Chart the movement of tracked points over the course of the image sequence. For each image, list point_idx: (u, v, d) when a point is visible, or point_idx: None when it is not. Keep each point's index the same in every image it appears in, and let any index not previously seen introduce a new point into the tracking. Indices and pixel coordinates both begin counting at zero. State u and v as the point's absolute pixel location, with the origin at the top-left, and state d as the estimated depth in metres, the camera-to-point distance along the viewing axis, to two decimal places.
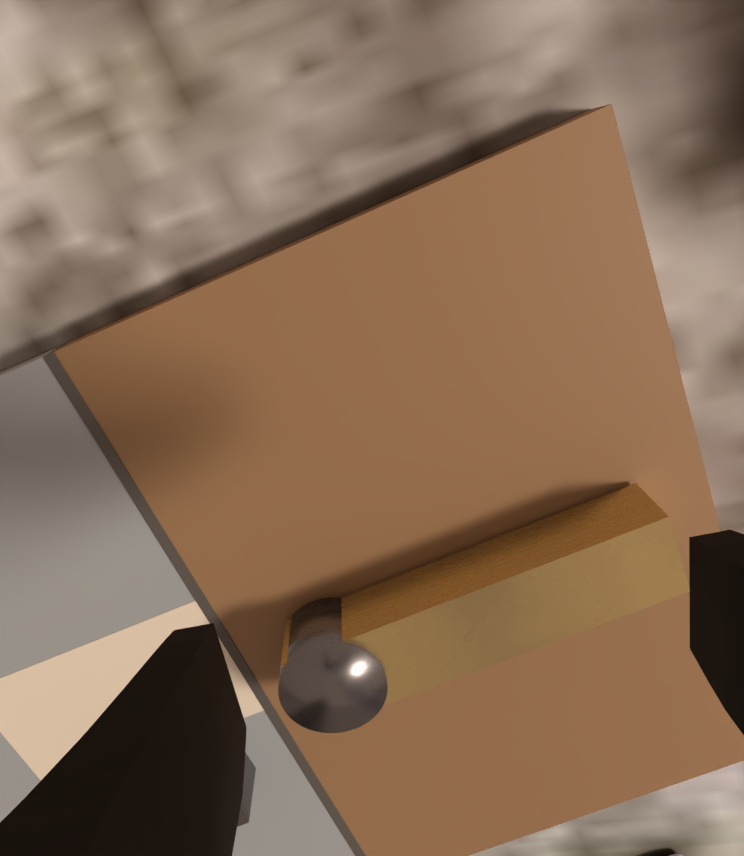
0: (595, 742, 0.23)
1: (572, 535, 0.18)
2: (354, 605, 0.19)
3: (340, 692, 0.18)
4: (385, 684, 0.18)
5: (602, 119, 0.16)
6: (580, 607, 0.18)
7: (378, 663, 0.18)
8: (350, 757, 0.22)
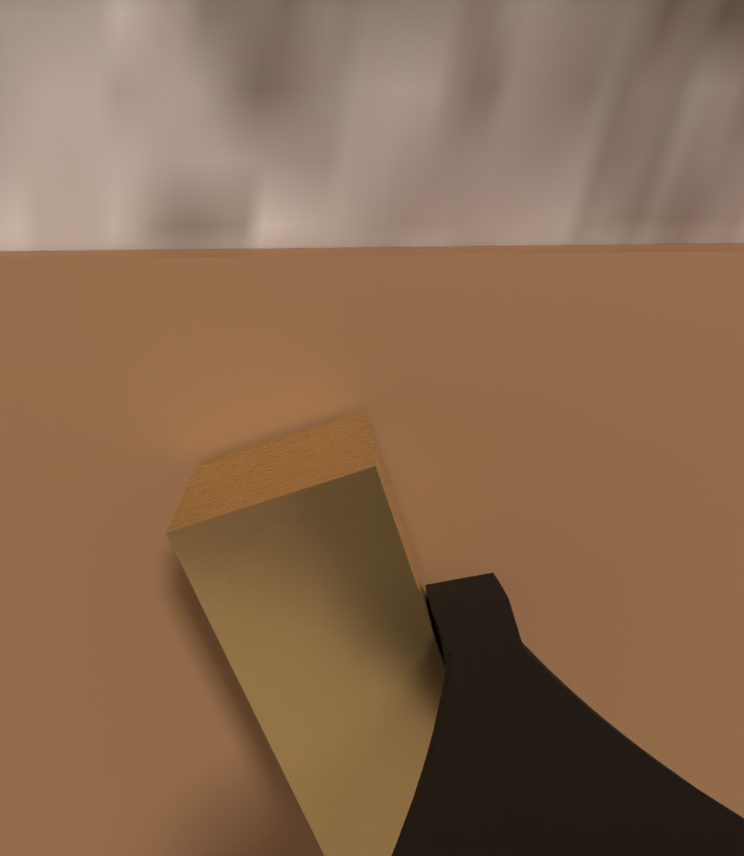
0: None
1: None
2: None
3: None
4: None
5: None
6: (385, 682, 0.08)
7: None
8: None
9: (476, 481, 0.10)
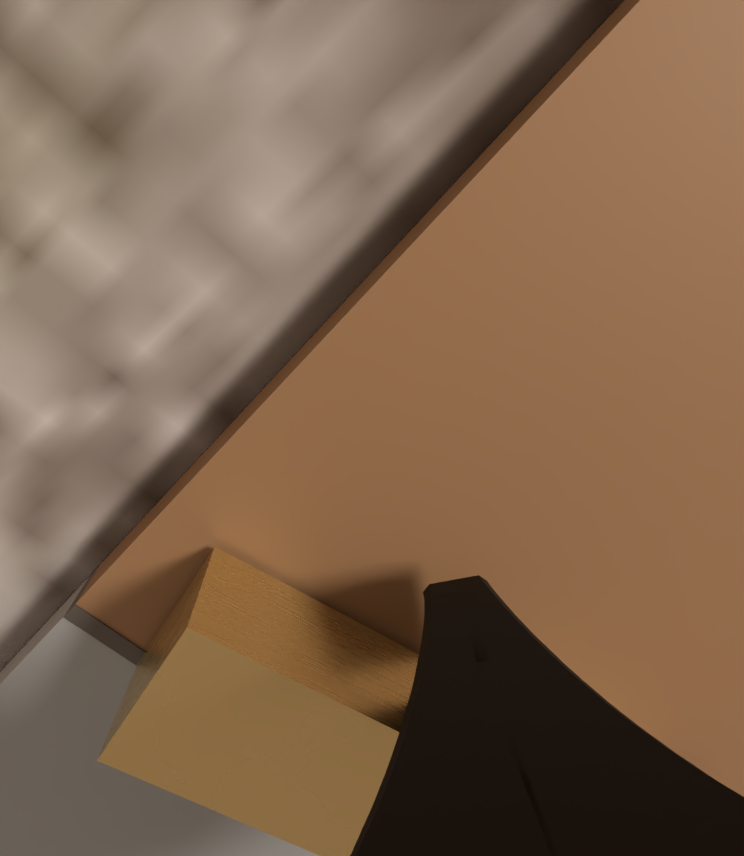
0: None
1: None
2: None
3: None
4: None
5: None
6: (348, 761, 0.09)
7: None
8: None
9: None
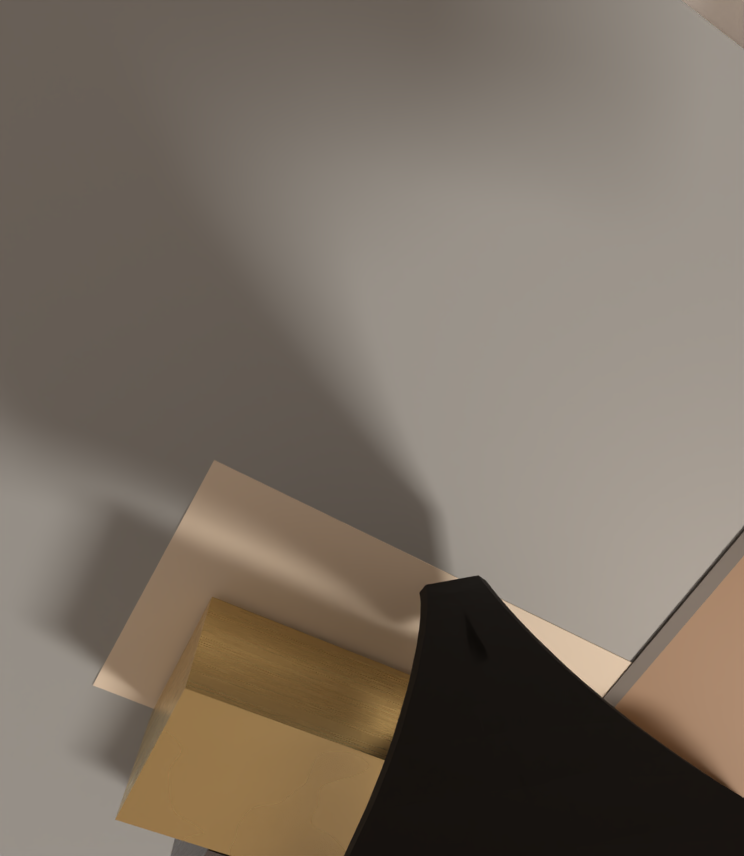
0: None
1: None
2: None
3: None
4: None
5: None
6: (358, 799, 0.09)
7: None
8: None
9: None
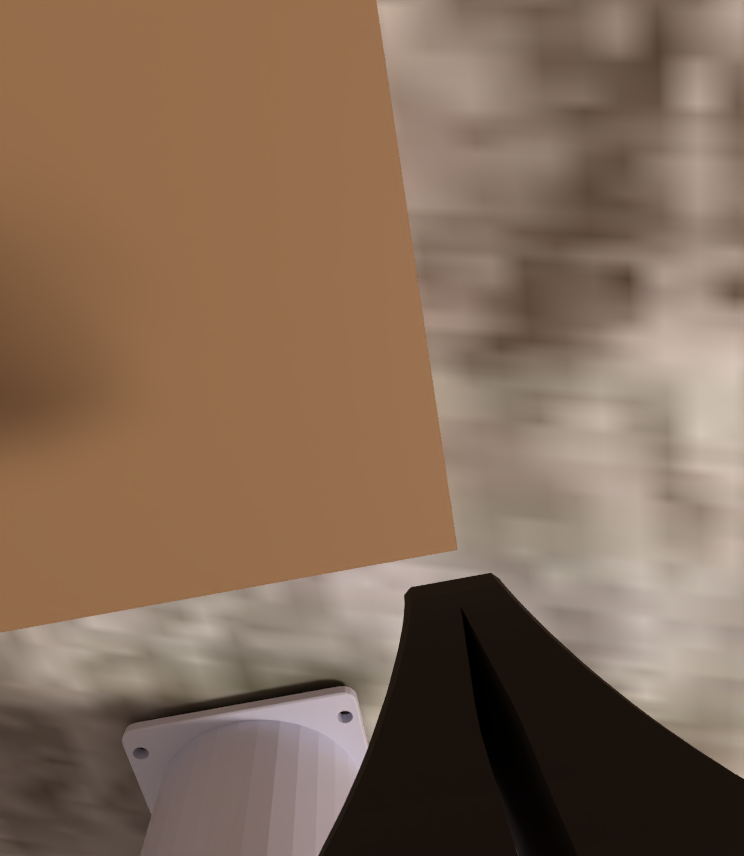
0: (240, 489, 0.18)
1: None
2: None
3: None
4: None
5: None
6: None
7: None
8: None
9: (259, 172, 0.16)
